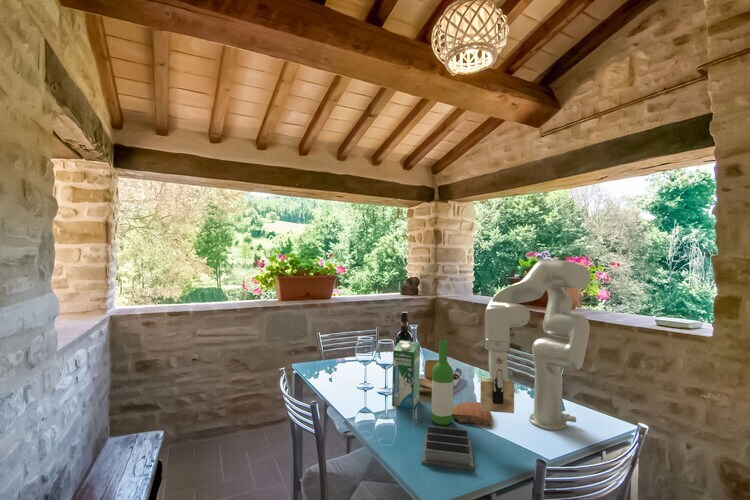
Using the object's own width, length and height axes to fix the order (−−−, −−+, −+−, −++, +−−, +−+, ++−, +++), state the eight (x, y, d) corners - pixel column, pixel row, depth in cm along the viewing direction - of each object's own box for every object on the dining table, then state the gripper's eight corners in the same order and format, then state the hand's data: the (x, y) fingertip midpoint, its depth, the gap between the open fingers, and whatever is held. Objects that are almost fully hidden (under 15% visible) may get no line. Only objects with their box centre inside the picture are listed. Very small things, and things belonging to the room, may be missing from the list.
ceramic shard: (451, 394, 154) (489, 403, 151) (449, 410, 154) (486, 420, 150) (452, 403, 140) (493, 413, 137) (449, 421, 139) (490, 432, 136)
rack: (470, 441, 126) (470, 429, 126) (473, 470, 109) (474, 456, 109) (424, 436, 128) (425, 424, 128) (421, 463, 112) (422, 450, 112)
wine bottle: (456, 424, 138) (457, 342, 138) (436, 427, 136) (438, 343, 136) (446, 416, 145) (447, 338, 146) (427, 418, 143) (429, 338, 144)
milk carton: (391, 405, 155) (393, 344, 155) (398, 397, 163) (400, 339, 163) (413, 409, 151) (414, 346, 152) (419, 401, 160) (420, 342, 160)
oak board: (512, 409, 122) (512, 379, 122) (514, 413, 119) (514, 383, 119) (480, 406, 124) (480, 377, 124) (481, 410, 121) (481, 381, 121)
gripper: (514, 351, 112) (513, 413, 113) (505, 338, 129) (505, 392, 129) (487, 350, 114) (487, 411, 114) (482, 337, 130) (482, 390, 130)
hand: (497, 400), depth 121 cm, fingers closed on oak board, 3 cm apart
